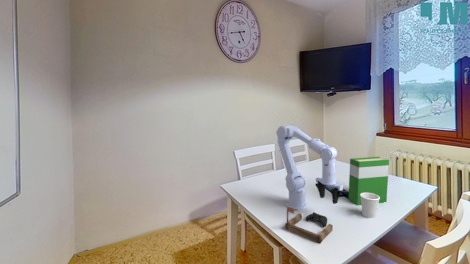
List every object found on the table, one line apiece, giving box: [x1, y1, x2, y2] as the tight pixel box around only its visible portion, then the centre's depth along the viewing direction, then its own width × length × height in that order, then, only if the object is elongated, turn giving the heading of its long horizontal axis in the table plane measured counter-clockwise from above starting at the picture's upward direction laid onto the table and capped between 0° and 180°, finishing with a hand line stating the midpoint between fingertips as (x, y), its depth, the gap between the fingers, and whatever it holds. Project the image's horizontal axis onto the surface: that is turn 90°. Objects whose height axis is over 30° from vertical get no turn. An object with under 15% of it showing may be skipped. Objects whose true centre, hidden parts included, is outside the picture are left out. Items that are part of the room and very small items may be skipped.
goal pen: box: [284, 206, 334, 244], centre depth 100 cm, size 12×16×10 cm
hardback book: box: [348, 156, 390, 207], centre depth 126 cm, size 18×7×24 cm, turn 99°
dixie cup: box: [360, 193, 380, 219], centre depth 112 cm, size 8×8×10 cm
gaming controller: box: [305, 211, 328, 229], centre depth 108 cm, size 10×5×6 cm
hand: (328, 200), depth 110 cm, fingers open, 7 cm apart
